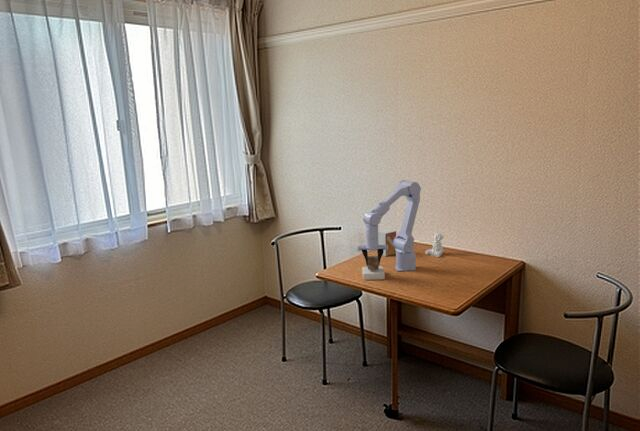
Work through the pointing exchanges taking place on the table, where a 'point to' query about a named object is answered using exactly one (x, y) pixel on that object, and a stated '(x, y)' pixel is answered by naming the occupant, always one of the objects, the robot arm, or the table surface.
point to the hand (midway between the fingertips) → (372, 264)
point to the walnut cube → (373, 262)
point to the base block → (373, 273)
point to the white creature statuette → (436, 246)
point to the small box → (387, 241)
